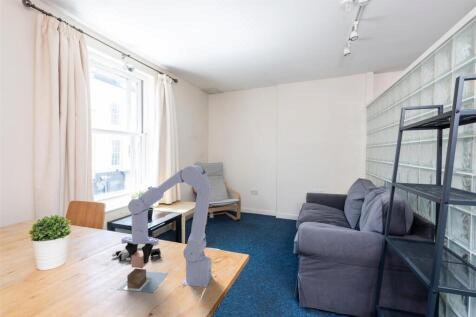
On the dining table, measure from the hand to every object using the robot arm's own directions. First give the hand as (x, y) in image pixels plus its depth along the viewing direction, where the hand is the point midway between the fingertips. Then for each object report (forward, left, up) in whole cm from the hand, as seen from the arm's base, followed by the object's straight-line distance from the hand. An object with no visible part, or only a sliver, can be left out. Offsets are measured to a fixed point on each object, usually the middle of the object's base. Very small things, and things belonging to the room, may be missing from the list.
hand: (140, 261), depth 83 cm
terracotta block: (0, 0, -1) cm, 1 cm away
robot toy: (+13, -15, -6) cm, 21 cm away
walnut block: (-2, +6, -5) cm, 8 cm away
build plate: (+1, -13, -6) cm, 15 cm away
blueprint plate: (-4, +4, -6) cm, 8 cm away
